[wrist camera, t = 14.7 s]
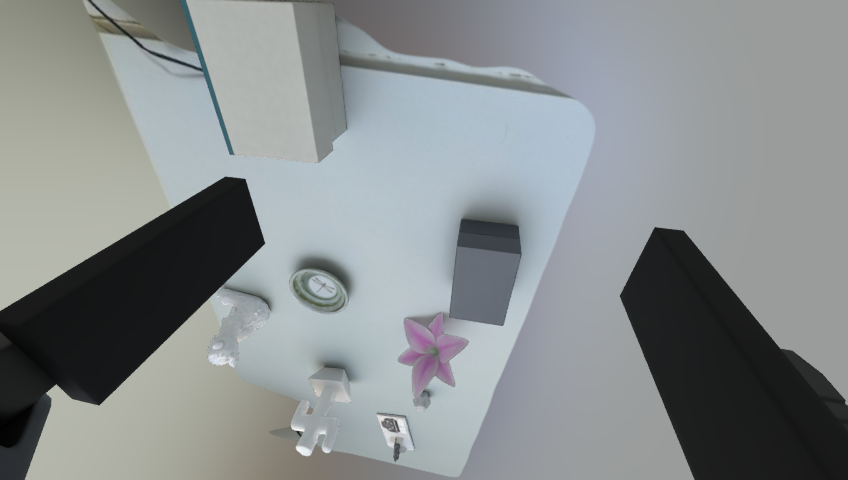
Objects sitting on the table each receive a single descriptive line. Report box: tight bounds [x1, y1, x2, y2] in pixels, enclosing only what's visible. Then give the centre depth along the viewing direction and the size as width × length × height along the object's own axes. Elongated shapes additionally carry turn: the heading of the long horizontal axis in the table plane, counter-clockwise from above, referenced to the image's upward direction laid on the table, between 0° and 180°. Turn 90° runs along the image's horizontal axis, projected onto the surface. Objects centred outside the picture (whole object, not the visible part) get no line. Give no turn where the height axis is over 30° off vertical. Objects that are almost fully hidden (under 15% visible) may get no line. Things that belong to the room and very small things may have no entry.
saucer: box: [289, 268, 349, 314], centre depth 53 cm, size 10×10×2 cm
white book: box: [180, 0, 333, 163], centre depth 29 cm, size 12×9×4 cm
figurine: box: [291, 367, 351, 456], centre depth 63 cm, size 7×9×15 cm
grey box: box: [449, 219, 521, 326], centre depth 43 cm, size 12×7×6 cm, turn 178°
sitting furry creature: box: [208, 289, 270, 367], centre depth 56 cm, size 10×9×12 cm
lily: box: [398, 312, 469, 398], centre depth 53 cm, size 12×12×10 cm
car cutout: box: [377, 413, 415, 462], centre depth 77 cm, size 15×7×4 cm, turn 7°
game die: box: [413, 392, 431, 412], centre depth 66 cm, size 4×4×3 cm
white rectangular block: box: [246, 0, 347, 142], centre depth 33 cm, size 12×7×6 cm, turn 178°
